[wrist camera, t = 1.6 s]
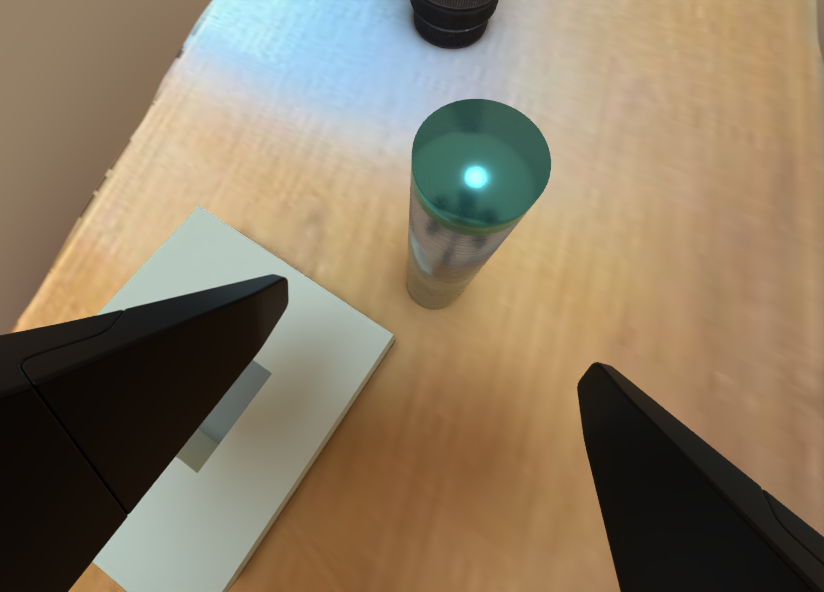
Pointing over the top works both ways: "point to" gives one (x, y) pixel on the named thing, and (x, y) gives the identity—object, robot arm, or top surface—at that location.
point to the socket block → (240, 417)
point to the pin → (468, 193)
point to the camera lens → (452, 20)
